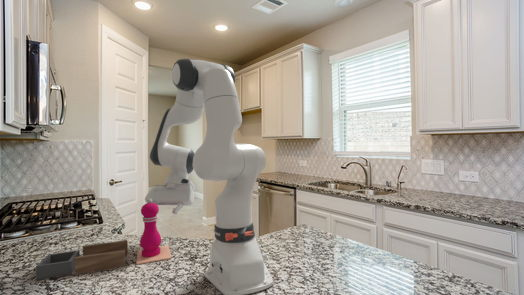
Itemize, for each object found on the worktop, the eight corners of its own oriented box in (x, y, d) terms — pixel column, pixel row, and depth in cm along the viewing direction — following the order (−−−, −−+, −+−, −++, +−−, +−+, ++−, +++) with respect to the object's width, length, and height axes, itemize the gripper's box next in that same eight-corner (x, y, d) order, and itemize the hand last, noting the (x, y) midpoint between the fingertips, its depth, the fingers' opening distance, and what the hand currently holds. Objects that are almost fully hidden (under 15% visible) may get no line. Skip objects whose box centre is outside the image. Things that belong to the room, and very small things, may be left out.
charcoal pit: (71, 274, 86) (71, 261, 86) (36, 280, 83) (35, 266, 83) (79, 261, 97) (79, 250, 97) (48, 266, 93) (48, 254, 93)
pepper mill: (161, 249, 105) (160, 196, 105) (162, 255, 98) (160, 199, 98) (140, 252, 102) (139, 198, 102) (139, 259, 95) (138, 201, 96)
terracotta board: (171, 259, 96) (171, 257, 96) (136, 264, 92) (136, 263, 92) (168, 246, 109) (168, 245, 109) (138, 251, 105) (138, 249, 105)
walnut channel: (124, 266, 91) (124, 251, 91) (74, 274, 86) (74, 258, 86) (127, 253, 103) (127, 239, 103) (83, 260, 98) (83, 245, 98)
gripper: (150, 180, 119) (136, 208, 109) (194, 180, 115) (184, 209, 106) (156, 189, 123) (143, 217, 114) (199, 189, 120) (189, 217, 110)
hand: (163, 213), depth 110 cm, fingers open, 8 cm apart
